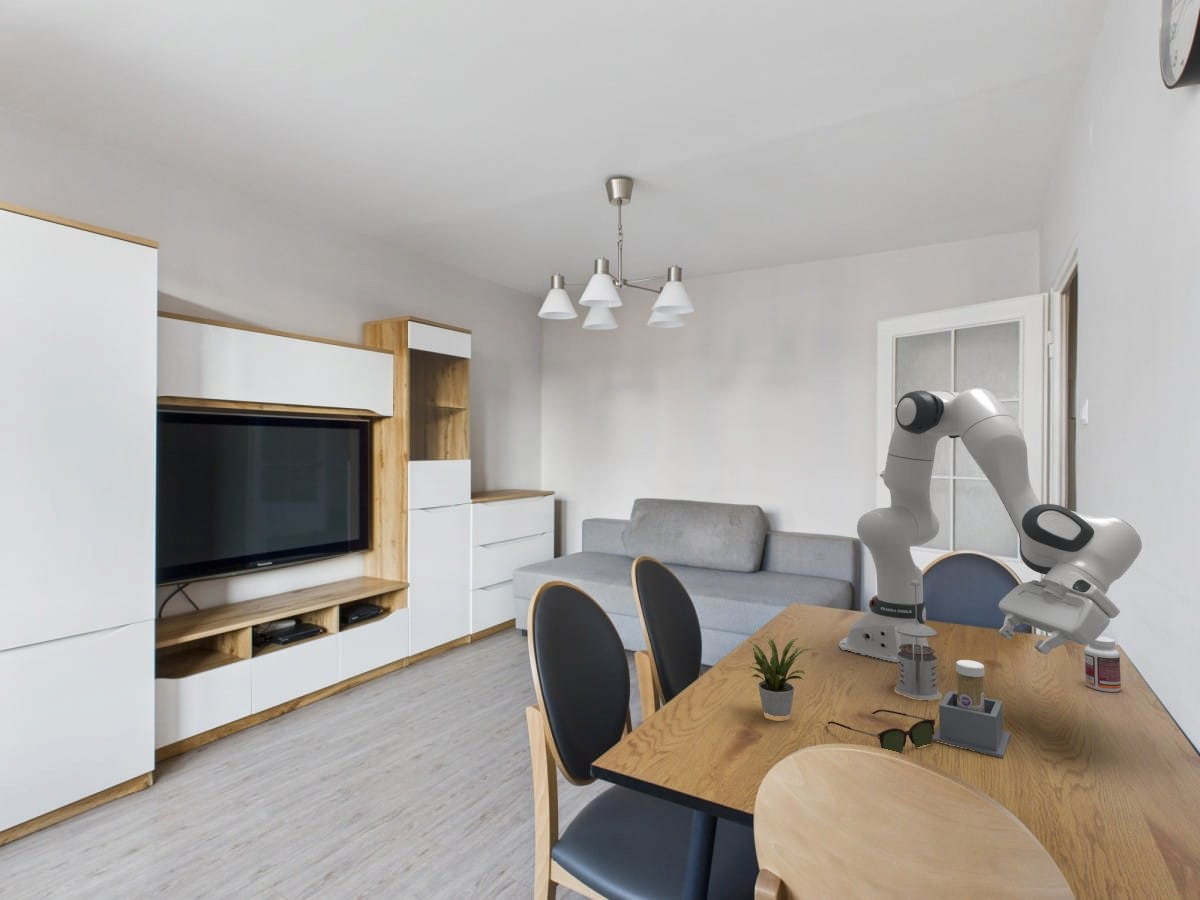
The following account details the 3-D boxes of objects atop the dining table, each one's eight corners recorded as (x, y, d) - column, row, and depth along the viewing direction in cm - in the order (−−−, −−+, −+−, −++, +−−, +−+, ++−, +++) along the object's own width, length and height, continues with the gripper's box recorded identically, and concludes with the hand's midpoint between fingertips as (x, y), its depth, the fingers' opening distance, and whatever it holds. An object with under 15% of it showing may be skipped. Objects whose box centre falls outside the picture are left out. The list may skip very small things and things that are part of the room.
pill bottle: (1125, 689, 140) (1124, 639, 140) (1114, 695, 137) (1113, 644, 137) (1091, 680, 145) (1090, 633, 145) (1080, 686, 142) (1079, 637, 142)
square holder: (932, 741, 116) (931, 705, 116) (944, 721, 125) (943, 687, 125) (1002, 758, 109) (1002, 720, 109) (1010, 736, 118) (1009, 700, 118)
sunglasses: (880, 762, 110) (877, 732, 110) (819, 735, 123) (817, 709, 124) (938, 746, 115) (935, 717, 116) (873, 722, 129) (871, 696, 129)
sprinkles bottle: (955, 736, 117) (953, 663, 117) (960, 727, 120) (958, 657, 121) (983, 743, 114) (982, 668, 114) (987, 734, 117) (986, 662, 118)
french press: (941, 687, 142) (938, 577, 143) (945, 706, 132) (942, 587, 132) (893, 682, 147) (891, 574, 147) (893, 699, 136) (891, 584, 136)
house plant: (819, 707, 133) (818, 629, 133) (820, 734, 120) (818, 648, 120) (750, 699, 137) (749, 624, 138) (743, 725, 124) (742, 642, 125)
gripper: (1018, 568, 129) (973, 617, 128) (1103, 589, 108) (1050, 648, 108) (1040, 589, 129) (994, 638, 128) (1129, 614, 108) (1075, 673, 108)
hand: (1020, 643), depth 118 cm, fingers open, 8 cm apart
